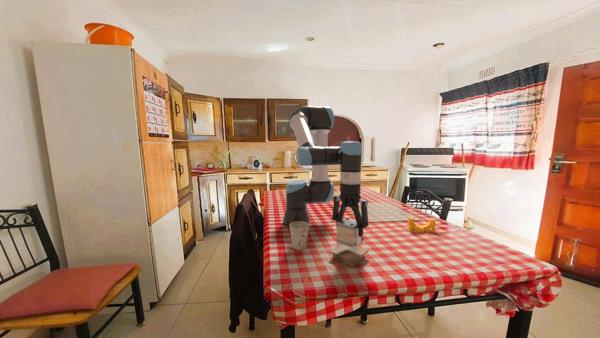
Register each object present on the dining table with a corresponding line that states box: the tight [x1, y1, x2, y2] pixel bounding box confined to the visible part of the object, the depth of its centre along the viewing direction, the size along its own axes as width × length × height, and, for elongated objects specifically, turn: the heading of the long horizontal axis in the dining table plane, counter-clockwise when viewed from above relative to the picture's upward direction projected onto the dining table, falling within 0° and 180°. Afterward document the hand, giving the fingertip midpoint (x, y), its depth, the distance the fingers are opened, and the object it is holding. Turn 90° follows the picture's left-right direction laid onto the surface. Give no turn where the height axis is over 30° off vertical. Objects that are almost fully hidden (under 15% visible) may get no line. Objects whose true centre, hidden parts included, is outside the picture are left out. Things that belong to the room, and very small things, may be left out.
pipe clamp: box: [407, 216, 436, 234], centre depth 114 cm, size 12×4×6 cm, turn 76°
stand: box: [328, 243, 369, 267], centre depth 88 cm, size 11×11×3 cm
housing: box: [336, 217, 363, 248], centre depth 87 cm, size 7×7×8 cm
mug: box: [288, 221, 310, 250], centre depth 99 cm, size 8×13×10 cm, turn 27°
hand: (349, 240), depth 87 cm, fingers closed on housing, 7 cm apart
